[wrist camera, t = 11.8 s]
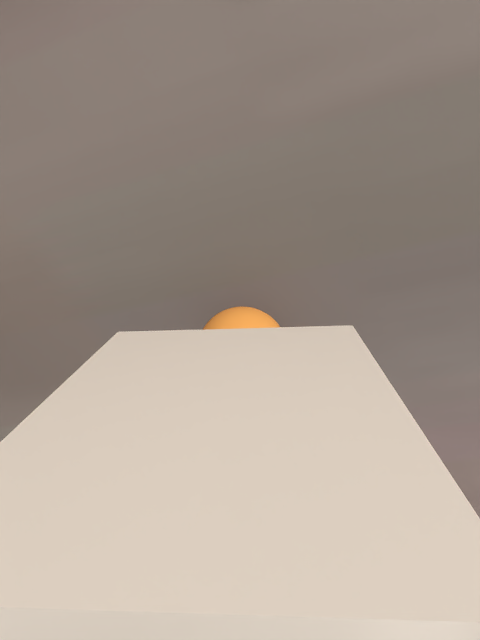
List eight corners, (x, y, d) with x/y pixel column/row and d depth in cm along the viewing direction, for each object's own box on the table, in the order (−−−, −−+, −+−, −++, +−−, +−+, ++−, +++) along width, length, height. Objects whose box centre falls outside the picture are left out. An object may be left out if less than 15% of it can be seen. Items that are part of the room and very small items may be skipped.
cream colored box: (344, 515, 13) (451, 955, 5) (147, 513, 13) (0, 910, 6) (352, 325, 11) (550, 625, 3) (117, 331, 11) (-170, 602, 4)
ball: (306, 311, 19) (306, 375, 22) (235, 277, 22) (244, 338, 25) (237, 372, 16) (249, 433, 20) (168, 325, 19) (188, 386, 23)
